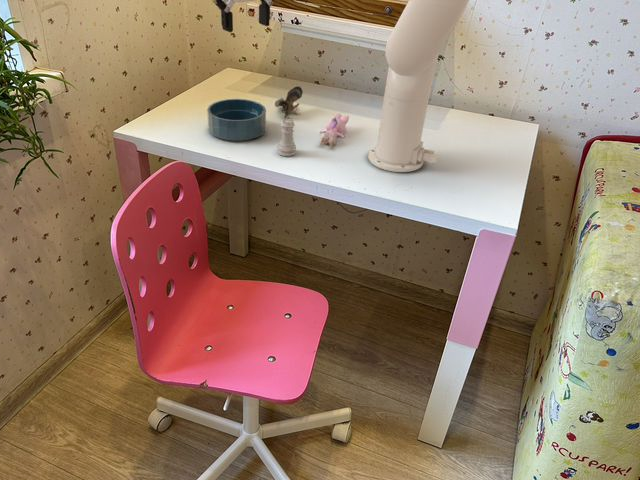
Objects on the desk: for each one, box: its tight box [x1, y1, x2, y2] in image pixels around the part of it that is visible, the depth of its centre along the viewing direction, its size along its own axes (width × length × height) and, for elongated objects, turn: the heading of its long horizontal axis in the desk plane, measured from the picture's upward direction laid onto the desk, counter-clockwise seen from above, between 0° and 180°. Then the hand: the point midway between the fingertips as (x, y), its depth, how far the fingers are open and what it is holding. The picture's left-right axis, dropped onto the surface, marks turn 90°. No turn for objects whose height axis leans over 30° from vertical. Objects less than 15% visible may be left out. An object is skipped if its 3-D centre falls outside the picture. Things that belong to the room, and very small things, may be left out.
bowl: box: [206, 98, 267, 142], centre depth 138 cm, size 14×14×6 cm
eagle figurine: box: [274, 86, 304, 119], centre depth 148 cm, size 8×7×9 cm
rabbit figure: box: [319, 113, 350, 149], centre depth 137 cm, size 6×6×15 cm
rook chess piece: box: [276, 117, 297, 158], centre depth 128 cm, size 4×4×8 cm
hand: (246, 27), depth 123 cm, fingers open, 9 cm apart
